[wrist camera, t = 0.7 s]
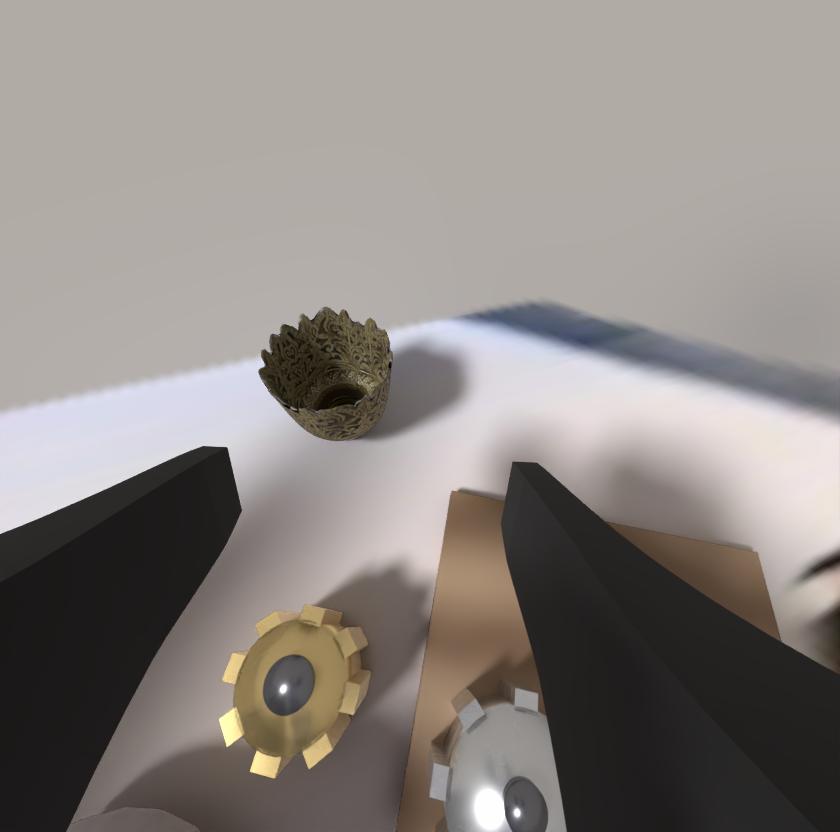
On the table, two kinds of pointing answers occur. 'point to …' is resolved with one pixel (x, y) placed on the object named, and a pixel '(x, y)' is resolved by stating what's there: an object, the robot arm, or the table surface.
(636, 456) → the table surface
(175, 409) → the table surface
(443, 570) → the carrier plate
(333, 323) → the cup
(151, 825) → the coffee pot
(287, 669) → the planet gear
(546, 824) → the sun gear
